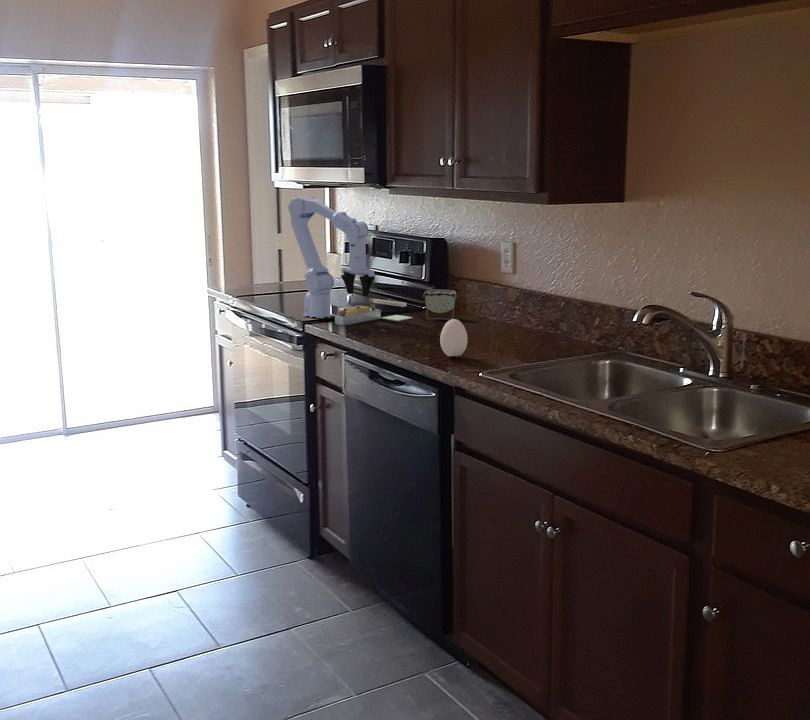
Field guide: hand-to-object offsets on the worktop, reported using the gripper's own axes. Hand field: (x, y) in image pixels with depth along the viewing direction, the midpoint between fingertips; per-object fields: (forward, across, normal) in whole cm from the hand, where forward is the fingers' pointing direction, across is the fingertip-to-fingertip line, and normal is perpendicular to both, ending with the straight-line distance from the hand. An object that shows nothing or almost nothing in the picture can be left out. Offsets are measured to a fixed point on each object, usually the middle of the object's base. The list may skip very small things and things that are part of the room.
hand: (358, 295), depth 321 cm
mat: (+10, -6, -14) cm, 18 cm away
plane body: (+10, 0, 0) cm, 10 cm away
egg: (+10, -63, +24) cm, 68 cm away
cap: (+6, 0, 0) cm, 6 cm away
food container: (+10, -17, -26) cm, 32 cm away
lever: (+4, -7, -8) cm, 11 cm away
